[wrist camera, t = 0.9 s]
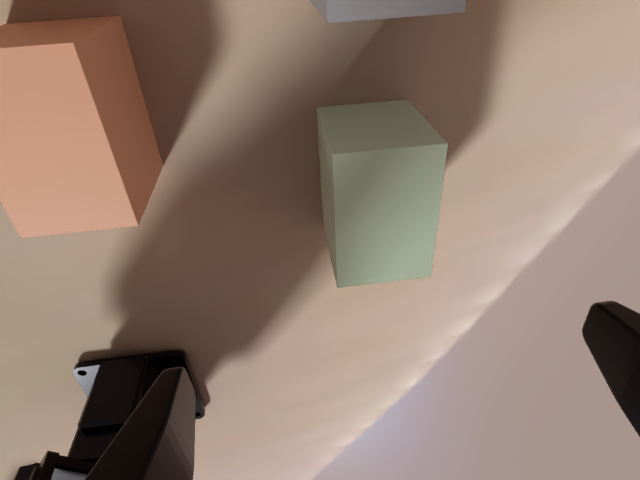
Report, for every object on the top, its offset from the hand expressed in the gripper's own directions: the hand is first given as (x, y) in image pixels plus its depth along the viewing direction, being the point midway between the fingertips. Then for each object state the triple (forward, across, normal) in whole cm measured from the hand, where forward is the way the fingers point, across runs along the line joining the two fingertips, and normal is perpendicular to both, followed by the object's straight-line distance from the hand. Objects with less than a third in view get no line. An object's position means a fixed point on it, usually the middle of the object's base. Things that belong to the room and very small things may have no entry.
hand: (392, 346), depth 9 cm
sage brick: (+12, -2, +2) cm, 12 cm away
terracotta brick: (+12, +9, -3) cm, 16 cm away
